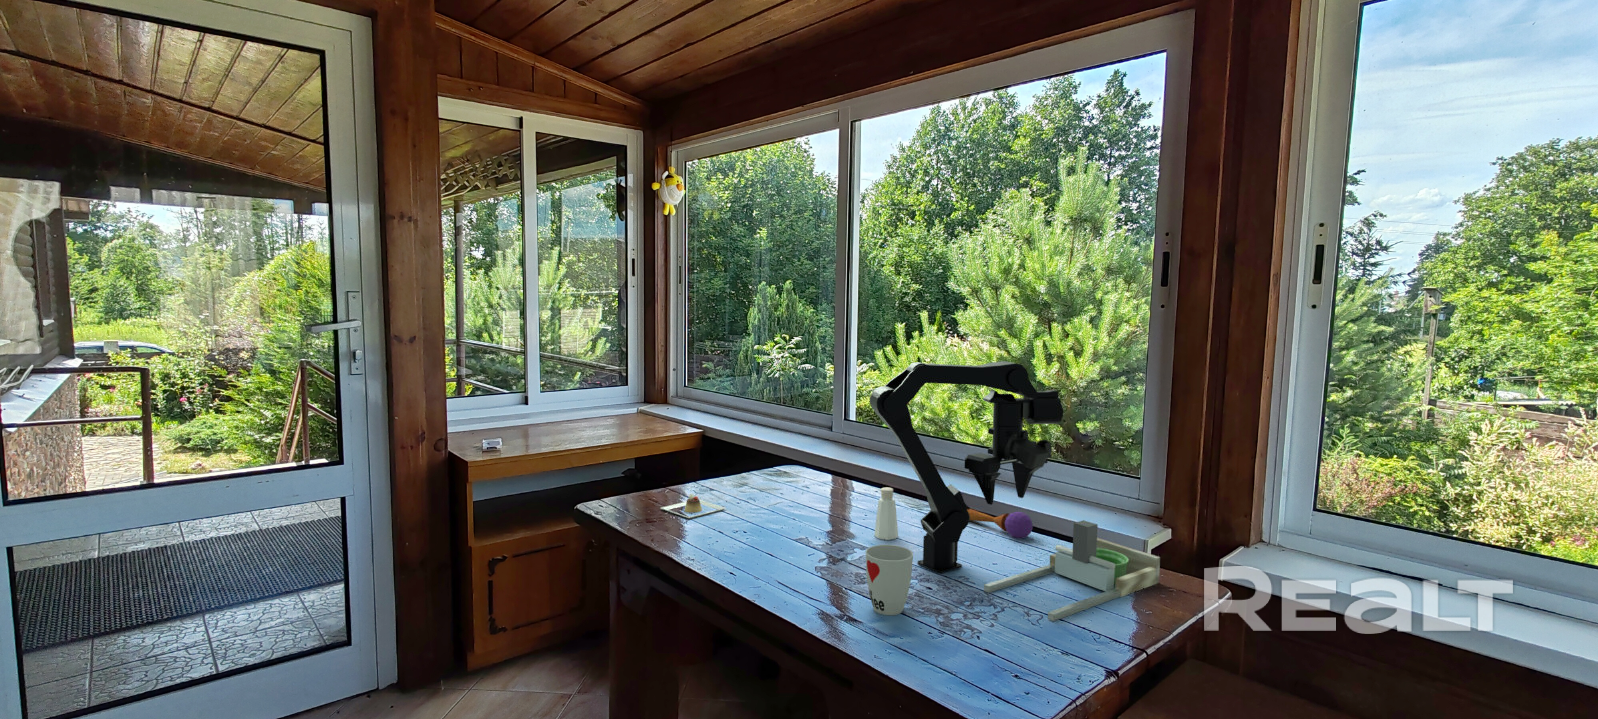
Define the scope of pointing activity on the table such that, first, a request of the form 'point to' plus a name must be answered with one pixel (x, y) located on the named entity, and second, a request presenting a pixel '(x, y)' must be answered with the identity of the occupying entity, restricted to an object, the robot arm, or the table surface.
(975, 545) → the table surface
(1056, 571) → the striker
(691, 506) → the dessert
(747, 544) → the table surface
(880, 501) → the pepper shaker
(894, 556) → the cup
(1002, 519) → the maraca
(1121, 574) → the ramekin
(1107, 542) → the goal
